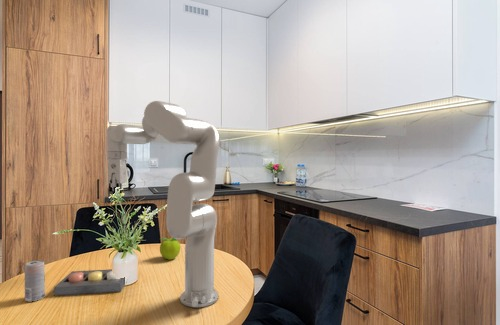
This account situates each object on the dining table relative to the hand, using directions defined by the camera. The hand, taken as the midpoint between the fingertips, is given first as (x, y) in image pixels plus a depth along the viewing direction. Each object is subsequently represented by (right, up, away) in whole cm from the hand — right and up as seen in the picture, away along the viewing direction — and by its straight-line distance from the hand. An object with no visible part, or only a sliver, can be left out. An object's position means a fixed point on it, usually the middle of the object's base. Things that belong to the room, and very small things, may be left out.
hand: (117, 200), depth 122 cm
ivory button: (+5, -29, -13) cm, 32 cm away
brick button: (-8, -29, -15) cm, 34 cm away
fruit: (+18, -29, +15) cm, 37 cm away
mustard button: (-2, -29, -14) cm, 32 cm away
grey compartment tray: (-2, -29, -14) cm, 33 cm away
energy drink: (-16, -30, -24) cm, 42 cm away
